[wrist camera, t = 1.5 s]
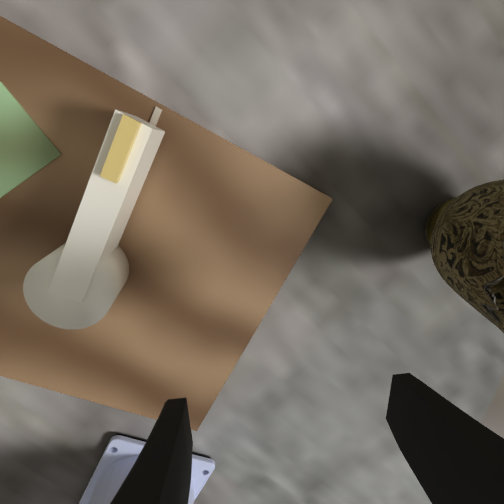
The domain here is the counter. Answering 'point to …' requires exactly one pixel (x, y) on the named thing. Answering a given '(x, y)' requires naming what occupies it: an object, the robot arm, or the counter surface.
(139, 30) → the counter surface
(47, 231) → the board
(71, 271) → the peg
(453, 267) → the cup
